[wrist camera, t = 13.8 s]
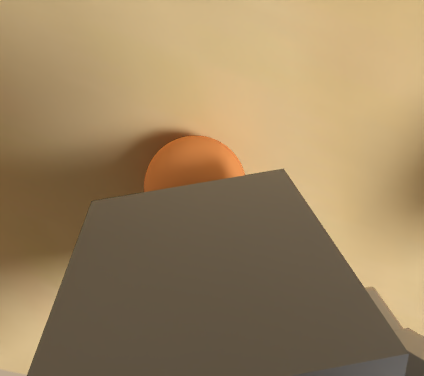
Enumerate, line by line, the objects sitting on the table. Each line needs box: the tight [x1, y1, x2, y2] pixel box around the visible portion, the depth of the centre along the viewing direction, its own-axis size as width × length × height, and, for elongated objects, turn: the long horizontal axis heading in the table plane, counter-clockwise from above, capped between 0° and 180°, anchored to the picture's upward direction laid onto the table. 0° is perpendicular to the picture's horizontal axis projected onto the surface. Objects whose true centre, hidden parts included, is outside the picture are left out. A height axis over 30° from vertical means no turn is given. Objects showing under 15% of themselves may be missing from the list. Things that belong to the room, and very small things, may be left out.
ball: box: [144, 136, 245, 192], centre depth 18 cm, size 5×5×5 cm
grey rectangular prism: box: [27, 169, 409, 376], centre depth 11 cm, size 7×7×8 cm
